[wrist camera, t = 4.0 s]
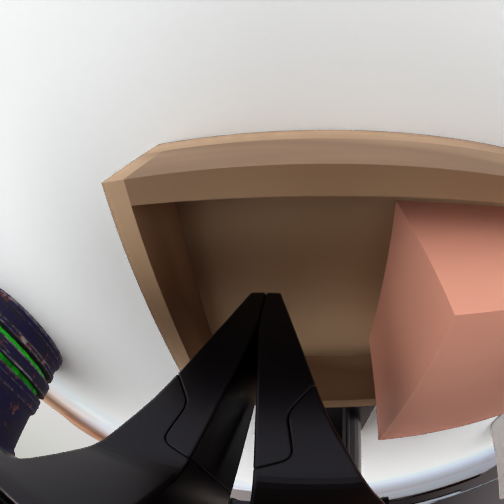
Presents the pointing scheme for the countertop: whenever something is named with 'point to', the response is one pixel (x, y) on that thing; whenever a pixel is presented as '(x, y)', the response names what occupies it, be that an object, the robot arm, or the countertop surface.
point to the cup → (499, 450)
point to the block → (440, 319)
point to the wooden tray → (286, 232)
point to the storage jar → (22, 368)
